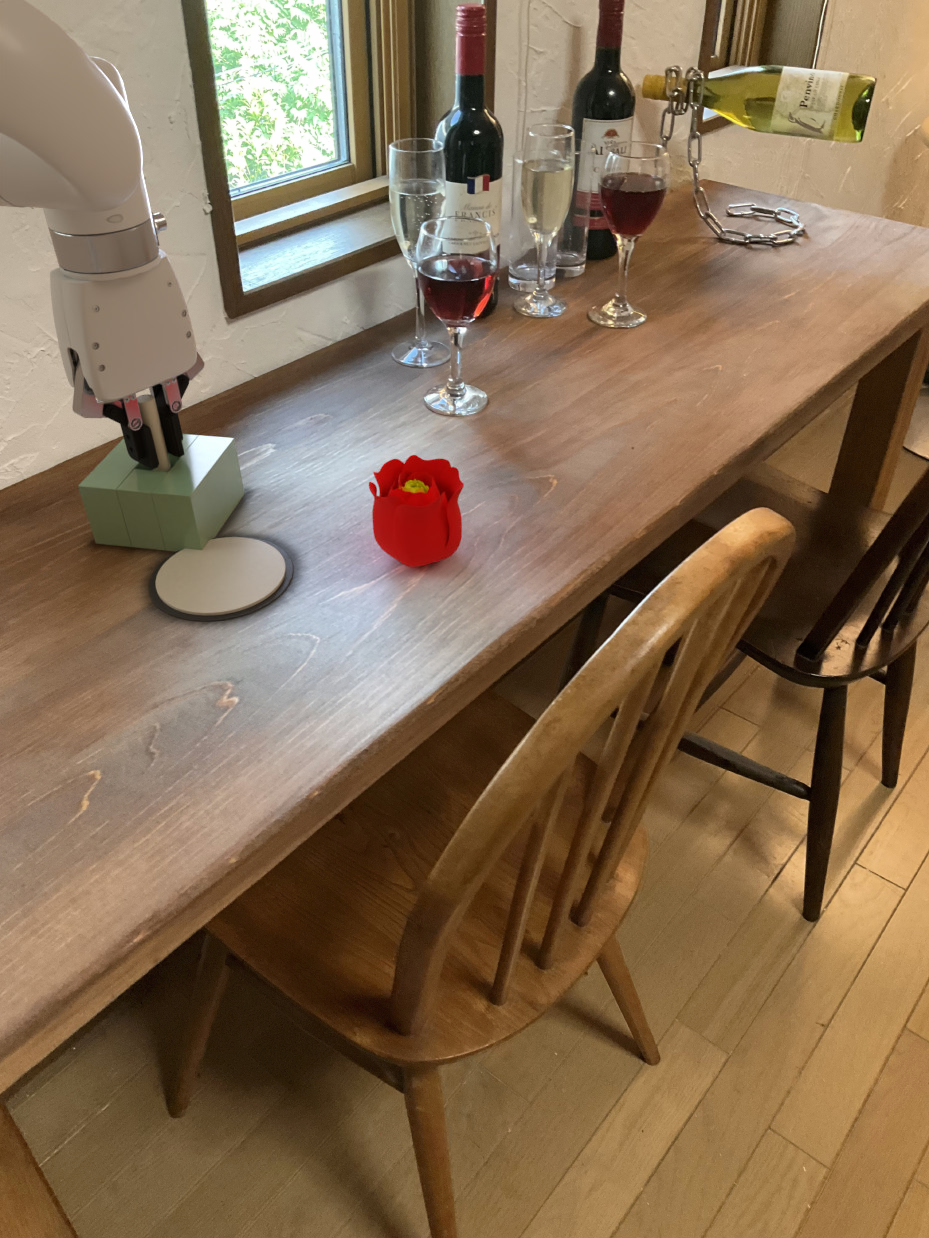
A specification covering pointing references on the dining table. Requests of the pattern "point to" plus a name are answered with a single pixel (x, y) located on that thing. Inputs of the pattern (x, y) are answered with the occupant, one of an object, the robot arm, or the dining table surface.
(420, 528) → the flower
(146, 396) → the pen
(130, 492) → the pen stand
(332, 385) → the dining table surface
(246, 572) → the beige coaster disc
